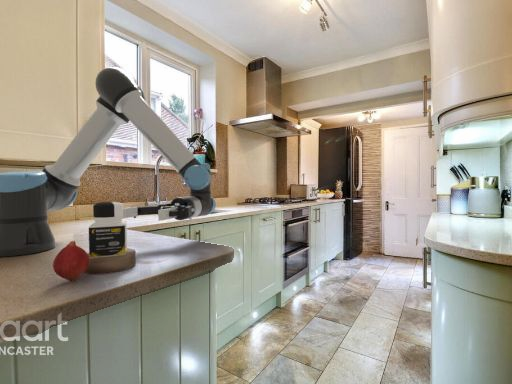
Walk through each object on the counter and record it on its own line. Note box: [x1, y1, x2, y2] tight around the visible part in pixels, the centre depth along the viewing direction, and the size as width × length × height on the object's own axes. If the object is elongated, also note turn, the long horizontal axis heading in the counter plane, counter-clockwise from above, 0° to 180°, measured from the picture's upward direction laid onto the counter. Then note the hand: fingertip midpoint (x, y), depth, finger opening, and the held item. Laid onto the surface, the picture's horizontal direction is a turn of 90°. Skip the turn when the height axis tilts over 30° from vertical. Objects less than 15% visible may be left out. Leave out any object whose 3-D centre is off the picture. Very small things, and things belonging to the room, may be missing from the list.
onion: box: [52, 240, 89, 282], centre depth 53 cm, size 6×6×8 cm
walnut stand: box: [83, 247, 137, 275], centre depth 63 cm, size 11×11×3 cm
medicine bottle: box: [88, 201, 128, 259], centre depth 63 cm, size 7×7×12 cm
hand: (138, 214), depth 71 cm, fingers open, 13 cm apart
